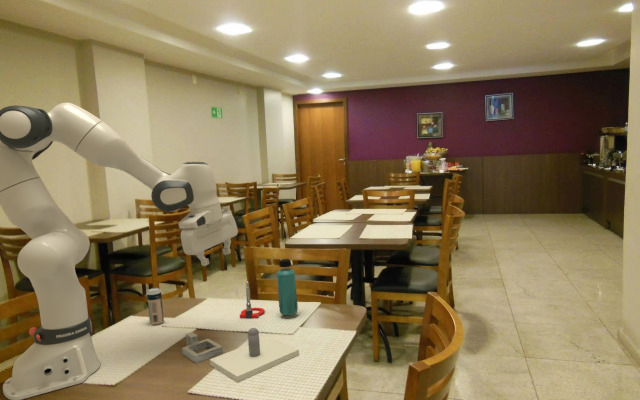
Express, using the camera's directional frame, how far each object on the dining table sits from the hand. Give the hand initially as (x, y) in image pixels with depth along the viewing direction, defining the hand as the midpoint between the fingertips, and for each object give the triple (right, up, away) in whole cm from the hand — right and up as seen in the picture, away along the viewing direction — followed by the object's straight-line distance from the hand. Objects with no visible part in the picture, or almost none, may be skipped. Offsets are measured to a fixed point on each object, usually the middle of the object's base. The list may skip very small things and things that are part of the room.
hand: (216, 259), depth 135 cm
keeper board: (+13, -26, -11) cm, 31 cm away
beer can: (-26, -25, +21) cm, 42 cm away
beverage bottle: (+20, -23, +21) cm, 37 cm away
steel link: (-4, -26, -4) cm, 27 cm away
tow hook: (+7, -23, +25) cm, 35 cm away
